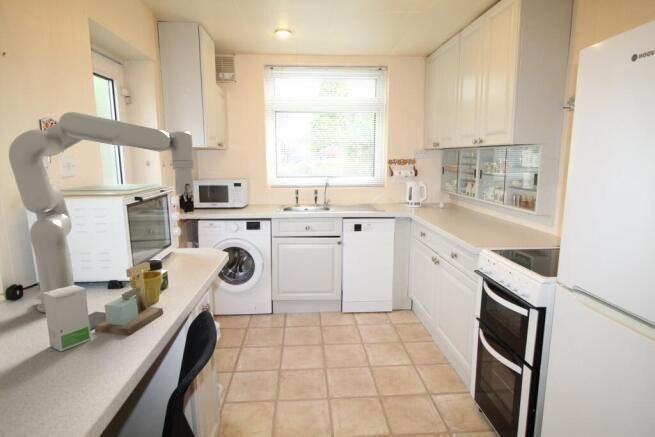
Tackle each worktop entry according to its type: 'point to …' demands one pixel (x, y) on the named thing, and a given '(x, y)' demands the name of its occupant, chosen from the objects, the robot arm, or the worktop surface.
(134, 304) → the mint green cube
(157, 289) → the plant pot
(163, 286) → the medicine bottle
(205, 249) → the worktop surface
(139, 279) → the t key
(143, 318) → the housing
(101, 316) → the mat
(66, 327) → the skincare box
